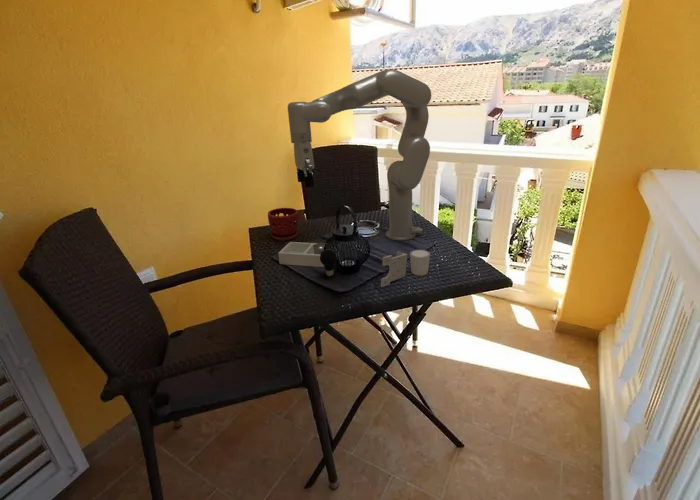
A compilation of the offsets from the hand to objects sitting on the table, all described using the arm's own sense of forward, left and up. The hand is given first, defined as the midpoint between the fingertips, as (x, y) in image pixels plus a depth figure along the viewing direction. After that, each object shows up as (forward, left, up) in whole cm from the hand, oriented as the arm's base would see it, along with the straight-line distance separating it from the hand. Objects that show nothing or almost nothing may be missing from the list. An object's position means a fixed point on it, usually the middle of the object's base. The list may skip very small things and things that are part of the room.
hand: (305, 184), depth 143 cm
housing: (-3, +11, -26) cm, 29 cm away
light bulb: (-15, +23, -27) cm, 39 cm away
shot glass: (-45, +15, -27) cm, 55 cm away
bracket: (-36, +23, -27) cm, 50 cm away
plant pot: (+16, -10, -27) cm, 32 cm away
